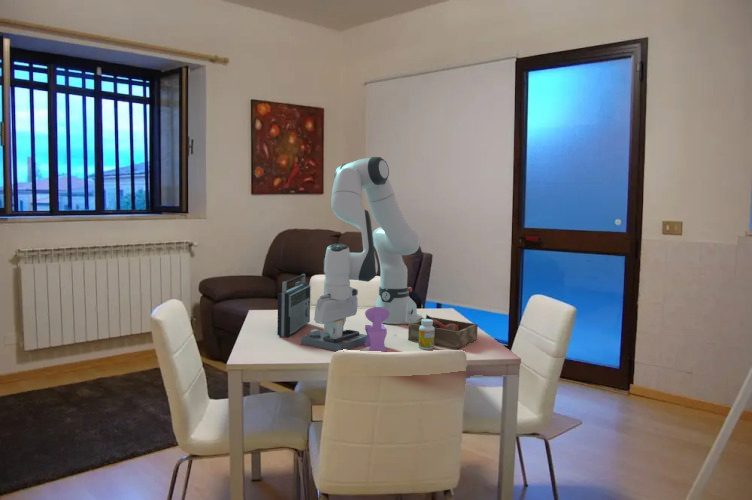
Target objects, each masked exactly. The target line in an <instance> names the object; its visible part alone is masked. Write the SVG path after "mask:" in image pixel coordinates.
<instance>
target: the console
mask: <svg viewBox="0 0 752 500" xmlns="http://www.w3.org/2000/svg"><path fill="white" fill-rule="evenodd" d="M366 341H367V334H363V333H360V331H358V330H352V329H343V331H342V337H340V338H337V339H332V338H330V334H329V333H328V327H327V325H326V323H325V324H323V330H320V329H317V328H316V329H315V328H314V329H310V330H309V334H306V335H304V336H301V337H300V344H301V345H303V346H309V347H313V348H318V349H323V350H326V351H334V352H337V351H338V350H343V349H349V350H351V349H354V348H357V347H359V346H363V345H365V344H366Z"/></svg>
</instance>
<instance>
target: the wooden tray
mask: <svg viewBox="0 0 752 500" xmlns="http://www.w3.org/2000/svg"><path fill="white" fill-rule="evenodd" d="M430 317H431V318H433V319H435V320H437V321H439V322H440V323H442V324H443V325H447V324H451V323H453V324H456V325H458V324H459V323H461V324H462V325H460V327H458V329H459V330H458V331H453V330H447V329H441V328H435V327H434V328H435V335H434V346H436V347H437V346H439V347H443V348H451V349H455V350H460V349H462V348H465V347H466V346H468V345H467V344H469V343H471V344H473V343H474V341H475V342H476V340H477V341H478V327H479V326H478V323H473V322H464V321H459V320H453V319H446V318H440V317H432V316H430ZM422 319H426V317H425V318H421V319H419V320H418V321H416V322H413V323H410V324H408V332H407V333H408V335H407V337H408V338H407V340H408V341H411V342H417V343H419V327H420V326H421V325H422V324H421V321H422ZM472 342H473V343H472ZM465 345H466V346H465ZM469 345H470V344H469Z"/></svg>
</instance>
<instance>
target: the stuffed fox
mask: <svg viewBox="0 0 752 500" xmlns="http://www.w3.org/2000/svg"><path fill="white" fill-rule="evenodd" d="M431 317H432V316H429V315H428V314H427V313H426V316H425V318H426V319H431V320H433V325H432V326H433V327H435V328H441V329H447V330H453V331H458V330H459V329H458V327H460V325H462V324H461V323H459V324H458V325H456V324H453V323H451V324H447V325H443V324H442V323H440V322H439V321H437V320H435V319H433V318H431Z"/></svg>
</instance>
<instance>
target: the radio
mask: <svg viewBox="0 0 752 500" xmlns="http://www.w3.org/2000/svg"><path fill="white" fill-rule="evenodd" d="M297 280H300V281H297ZM295 281H297V282H295ZM292 282H295V286H293V287H289V288H287V285H288V284H291V283H292ZM281 284H282V286H281V287H282V288H281V289H282V290H281V291H282V292H280V293H278V294H277V327H276V329H277V331H276V332H277V334H276V335H277V336H278V337H282V338H283V337H284V338H285V337H286V338H287V337H289V336H291V335H292V334H295V332H297V331H298V330H300V329H301V328H303V327H304V326H306V325H307V324H309V323H310V321H311V285H309V284H307V283H306V273H302V274H301V275H298V276H296V277H293V278H291V279H288V280H285V281H282V283H281Z"/></svg>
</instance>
